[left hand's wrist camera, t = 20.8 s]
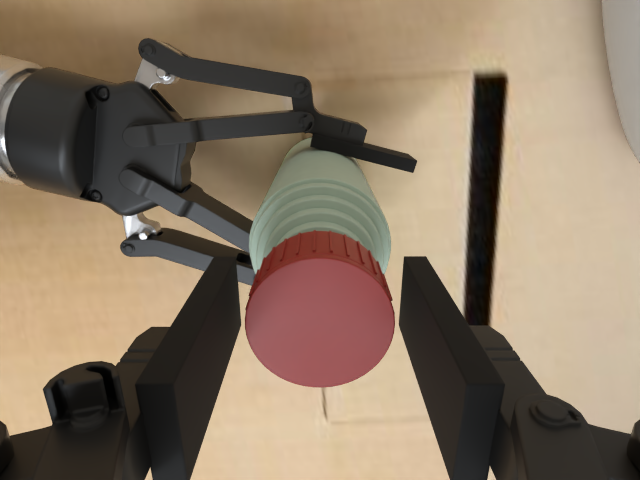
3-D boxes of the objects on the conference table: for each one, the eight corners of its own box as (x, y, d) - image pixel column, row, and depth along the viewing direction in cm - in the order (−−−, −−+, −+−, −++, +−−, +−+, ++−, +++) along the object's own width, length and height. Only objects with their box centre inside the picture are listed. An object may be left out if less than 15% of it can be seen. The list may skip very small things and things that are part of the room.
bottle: (291, 222, 35) (252, 411, 15) (270, 147, 32) (190, 246, 12) (366, 205, 34) (433, 376, 14) (350, 127, 32) (402, 197, 12)
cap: (234, 313, 15) (218, 354, 13) (290, 205, 14) (284, 228, 11) (345, 363, 16) (349, 409, 14) (409, 265, 14) (426, 298, 12)
